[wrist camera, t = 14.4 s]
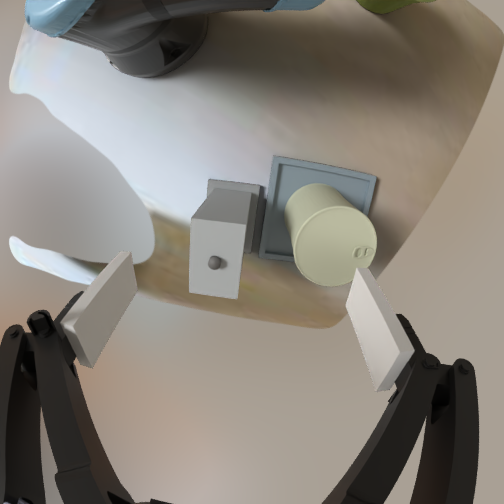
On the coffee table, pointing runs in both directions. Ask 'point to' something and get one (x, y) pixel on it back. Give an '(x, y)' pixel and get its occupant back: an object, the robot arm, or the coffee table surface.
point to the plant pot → (387, 4)
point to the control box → (222, 237)
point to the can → (328, 235)
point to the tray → (293, 178)
